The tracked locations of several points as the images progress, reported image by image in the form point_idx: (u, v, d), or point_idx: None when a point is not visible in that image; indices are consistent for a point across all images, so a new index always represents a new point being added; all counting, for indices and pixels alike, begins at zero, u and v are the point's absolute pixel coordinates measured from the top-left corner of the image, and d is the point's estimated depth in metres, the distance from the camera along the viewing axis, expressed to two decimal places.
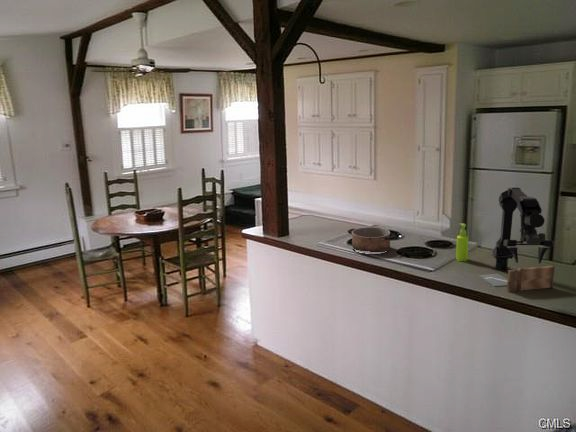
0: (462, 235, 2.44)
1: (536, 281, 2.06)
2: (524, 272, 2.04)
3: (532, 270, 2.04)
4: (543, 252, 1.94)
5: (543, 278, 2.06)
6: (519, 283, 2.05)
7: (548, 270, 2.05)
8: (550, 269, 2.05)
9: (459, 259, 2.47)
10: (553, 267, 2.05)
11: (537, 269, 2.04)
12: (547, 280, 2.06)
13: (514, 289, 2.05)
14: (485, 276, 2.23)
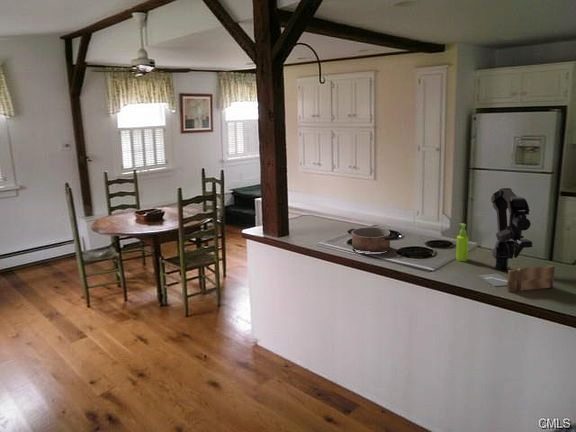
0: (462, 235, 2.44)
1: (536, 281, 2.06)
2: (524, 272, 2.04)
3: (532, 270, 2.04)
4: (514, 248, 2.11)
5: (543, 278, 2.06)
6: (519, 283, 2.05)
7: (548, 270, 2.05)
8: (550, 269, 2.05)
9: (459, 259, 2.47)
10: (553, 267, 2.05)
11: (537, 269, 2.04)
12: (547, 280, 2.06)
13: (514, 289, 2.05)
14: (485, 276, 2.23)
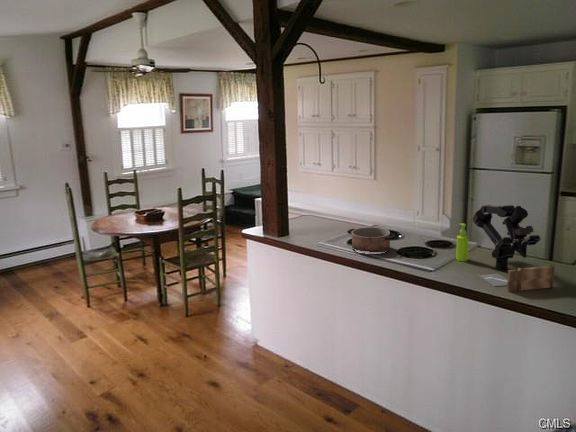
0: (462, 235, 2.44)
1: (536, 281, 2.06)
2: (524, 272, 2.04)
3: (532, 270, 2.04)
4: (525, 246, 2.14)
5: (543, 278, 2.06)
6: (519, 283, 2.05)
7: (548, 270, 2.05)
8: (550, 269, 2.05)
9: (459, 259, 2.47)
10: (553, 267, 2.05)
11: (537, 269, 2.04)
12: (547, 280, 2.06)
13: (514, 289, 2.05)
14: (485, 276, 2.23)
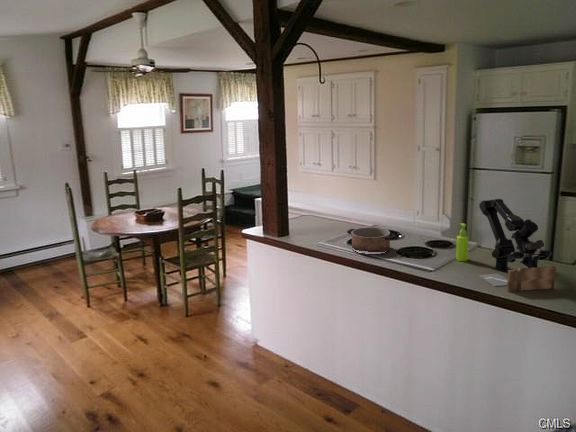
0: (462, 235, 2.44)
1: (537, 281, 2.05)
2: (524, 272, 2.04)
3: (532, 270, 2.04)
4: (536, 261, 2.07)
5: (544, 279, 2.05)
6: (519, 283, 2.05)
7: (549, 271, 2.04)
8: (551, 270, 2.04)
9: (459, 259, 2.47)
10: (554, 268, 2.04)
11: (538, 269, 2.04)
12: (548, 280, 2.05)
13: (514, 289, 2.05)
14: (485, 276, 2.23)
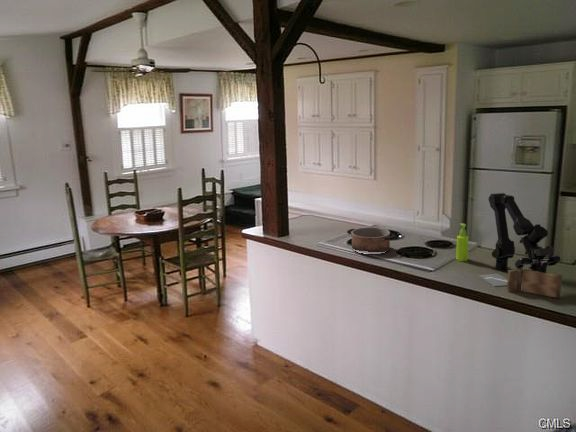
0: (462, 235, 2.44)
1: (538, 286, 2.00)
2: (524, 273, 2.03)
3: (533, 273, 2.00)
4: (545, 268, 2.01)
5: (547, 285, 1.98)
6: (519, 283, 2.05)
7: (553, 278, 1.96)
8: (556, 278, 1.95)
9: (459, 259, 2.47)
10: (559, 276, 1.94)
11: (539, 274, 1.99)
12: (552, 288, 1.97)
13: (514, 289, 2.05)
14: (485, 276, 2.23)
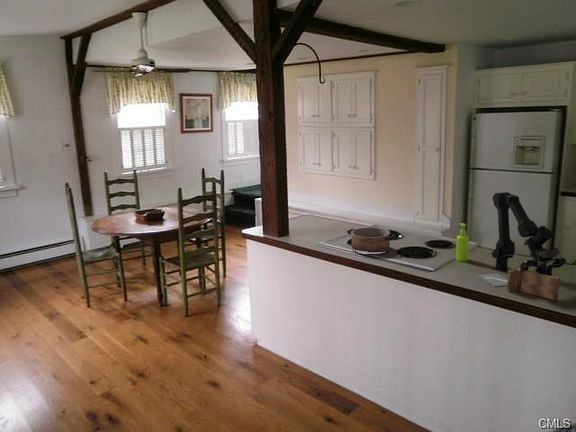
0: (462, 235, 2.44)
1: (537, 287, 1.99)
2: (523, 273, 2.03)
3: (532, 274, 2.00)
4: (550, 270, 1.97)
5: (545, 287, 1.96)
6: (519, 283, 2.05)
7: (551, 280, 1.94)
8: (553, 280, 1.93)
9: (459, 259, 2.47)
10: (556, 279, 1.92)
11: (537, 275, 1.98)
12: (549, 290, 1.95)
13: (514, 289, 2.05)
14: (485, 276, 2.23)
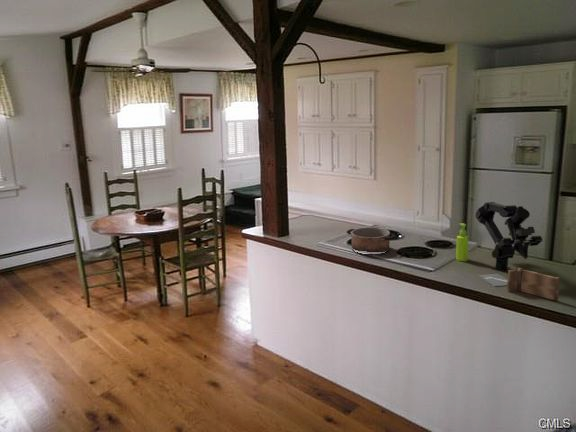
0: (462, 235, 2.44)
1: (537, 287, 1.99)
2: (523, 273, 2.03)
3: (532, 274, 2.00)
4: (526, 247, 2.12)
5: (545, 287, 1.96)
6: (519, 283, 2.05)
7: (551, 280, 1.94)
8: (553, 280, 1.93)
9: (459, 259, 2.47)
10: (556, 279, 1.92)
11: (537, 275, 1.98)
12: (549, 290, 1.95)
13: (514, 289, 2.05)
14: (485, 276, 2.23)
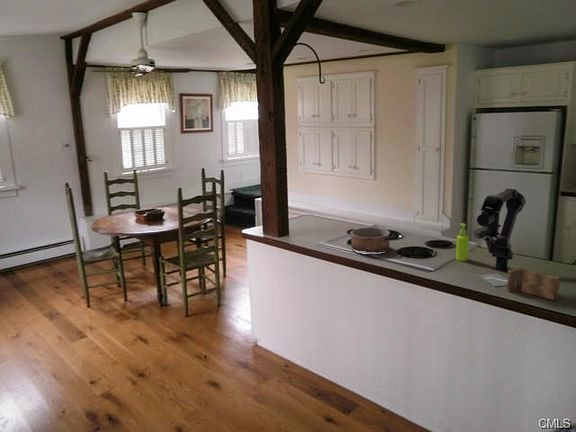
0: (462, 235, 2.44)
1: (537, 287, 1.99)
2: (523, 273, 2.03)
3: (532, 274, 2.00)
4: (489, 244, 2.19)
5: (545, 287, 1.96)
6: (519, 283, 2.05)
7: (551, 280, 1.94)
8: (553, 280, 1.93)
9: (459, 259, 2.47)
10: (556, 279, 1.92)
11: (537, 275, 1.98)
12: (549, 290, 1.95)
13: (514, 289, 2.05)
14: (485, 276, 2.23)
